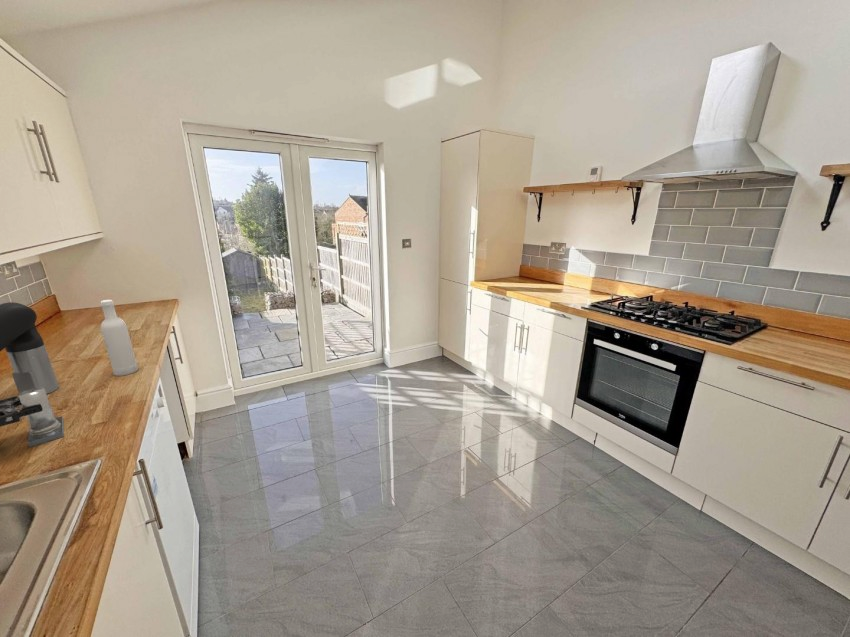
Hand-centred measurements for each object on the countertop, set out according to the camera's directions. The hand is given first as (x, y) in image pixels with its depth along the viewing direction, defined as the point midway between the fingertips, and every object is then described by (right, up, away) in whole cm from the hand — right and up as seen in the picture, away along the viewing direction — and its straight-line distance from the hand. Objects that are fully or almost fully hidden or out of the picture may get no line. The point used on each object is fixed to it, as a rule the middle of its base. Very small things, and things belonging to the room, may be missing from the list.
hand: (40, 401), depth 105 cm
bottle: (-10, +2, +42) cm, 44 cm away
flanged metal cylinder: (-1, -8, +2) cm, 9 cm away
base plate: (-1, -10, +2) cm, 10 cm away
